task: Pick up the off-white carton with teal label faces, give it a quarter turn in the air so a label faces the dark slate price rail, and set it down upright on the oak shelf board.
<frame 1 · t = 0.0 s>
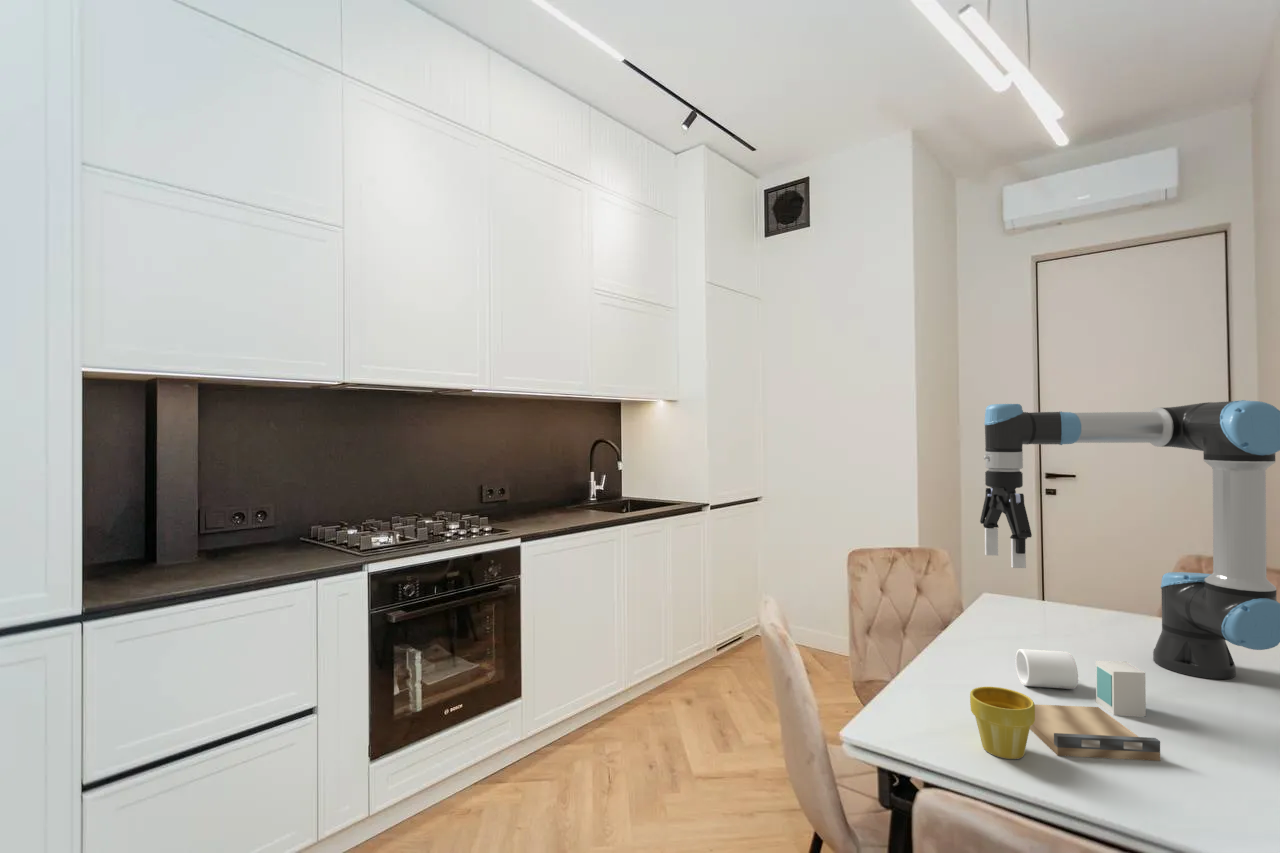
hand: (1004, 561, 145), 28 cm above the table, fingers open, 13 cm apart
shelf board: (1079, 733, 121), on the table
carton: (1120, 709, 131), on the table
mug: (1042, 683, 145), on the table
plant pot: (1002, 751, 115), on the table
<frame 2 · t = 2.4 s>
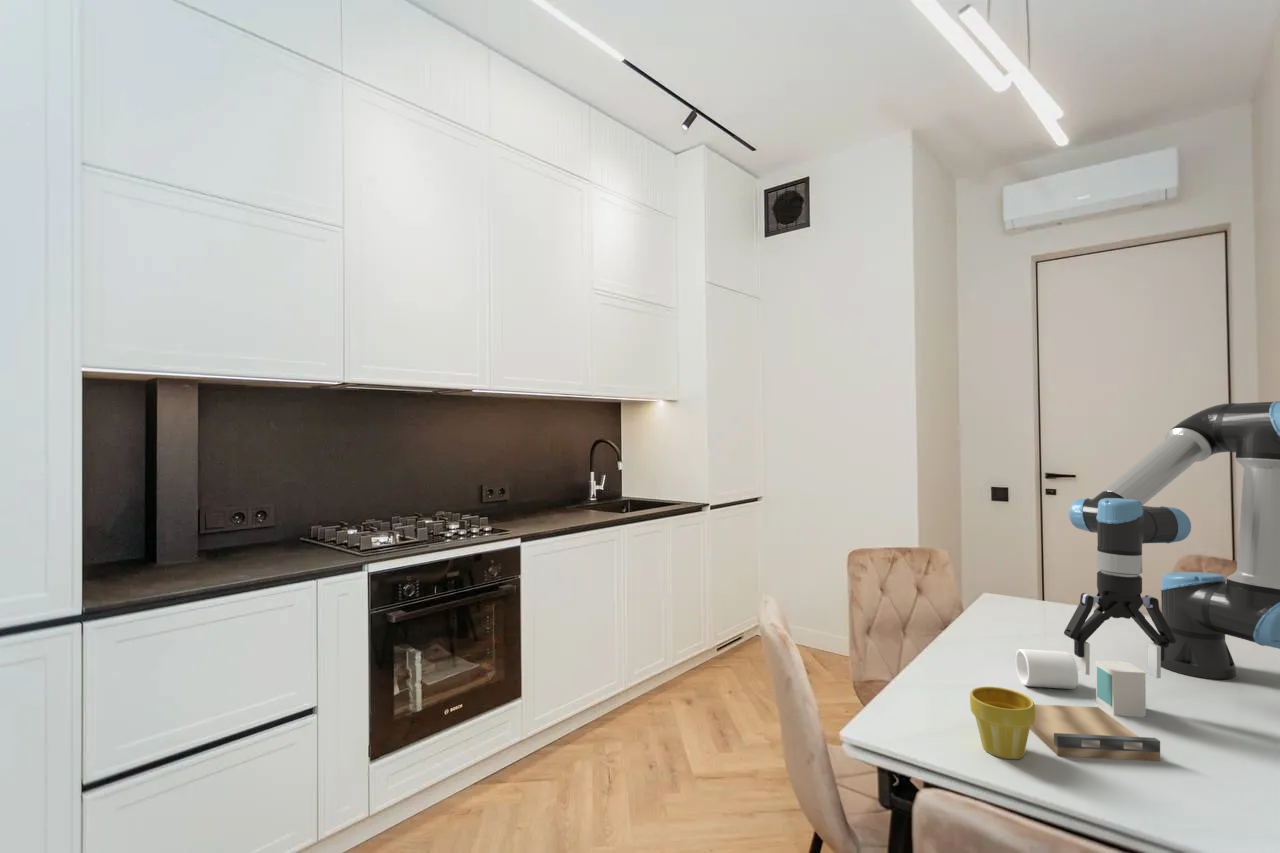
hand: (1118, 674, 131), 7 cm above the table, fingers open, 13 cm apart
nothing on the table moved.
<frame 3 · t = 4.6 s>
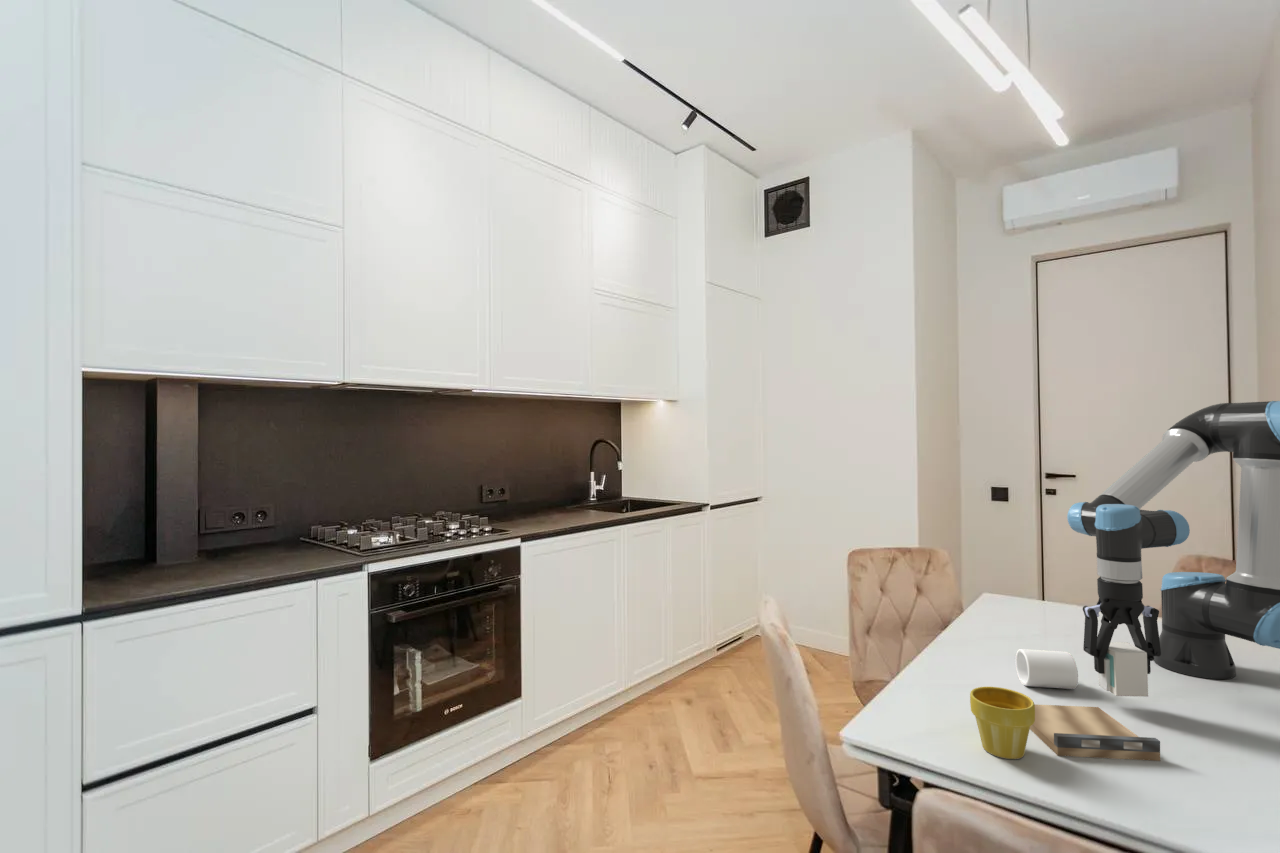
hand: (1122, 688, 131), 4 cm above the table, fingers closed on carton, 6 cm apart
carton: (1122, 690, 131), point 4 cm above the table, touching gripper
everything else where it was.
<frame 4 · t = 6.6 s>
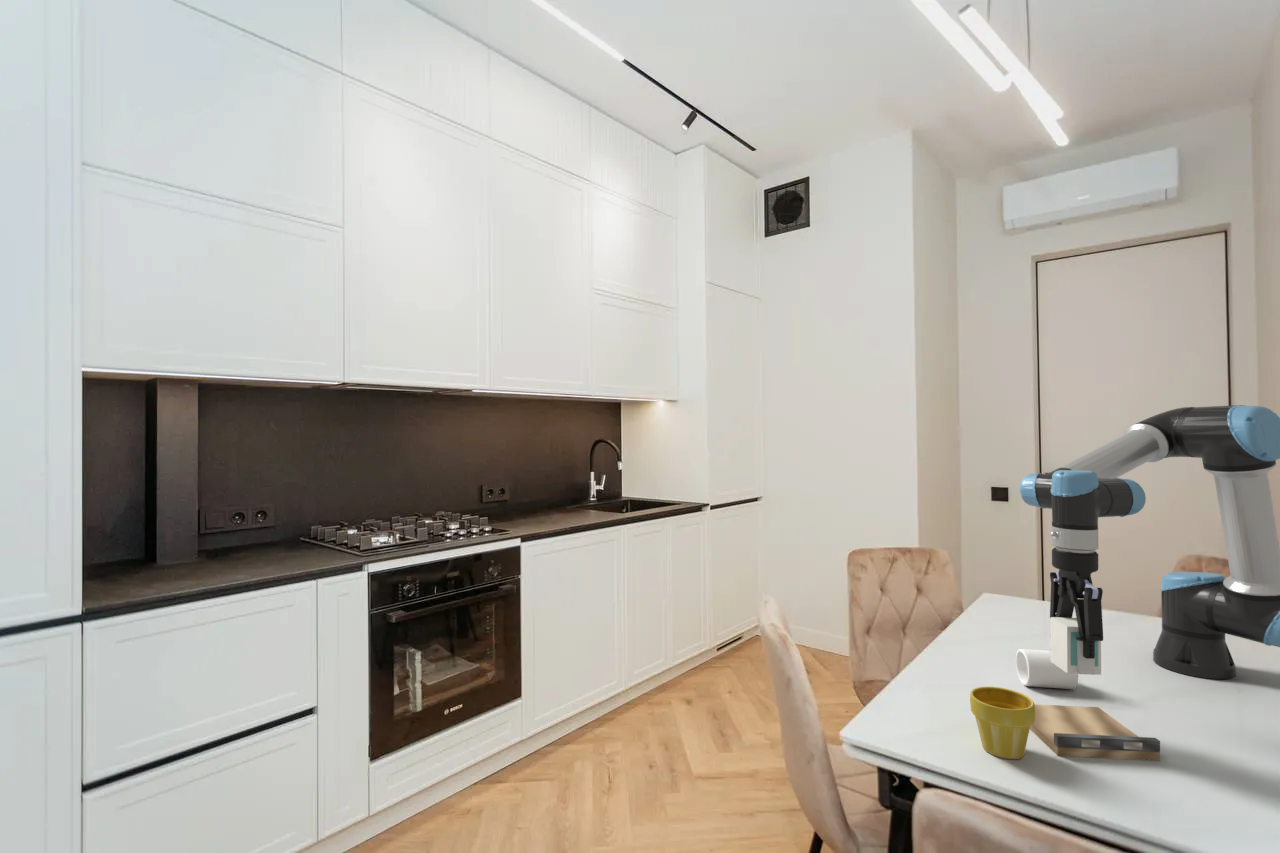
hand: (1075, 666, 122), 12 cm above the table, fingers closed on carton, 6 cm apart
carton: (1075, 668, 122), point 12 cm above the table, touching gripper
everything else where it was.
when the fingers open (2 cm above the table, at t = 8.6 s): carton stays where it is, resting on shelf board.
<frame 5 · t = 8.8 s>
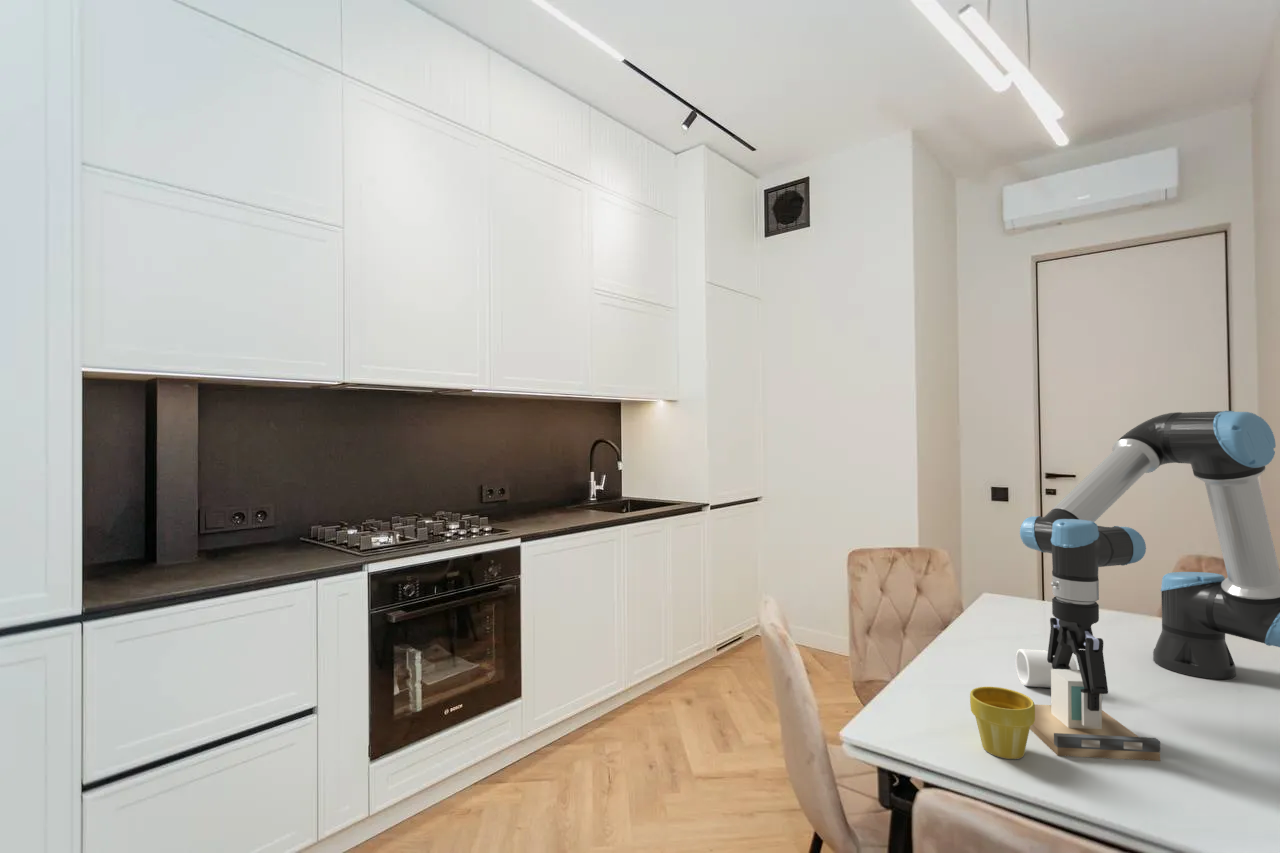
hand: (1075, 713, 122), 3 cm above the table, fingers open, 9 cm apart
carton: (1075, 721, 122), point 1 cm above the table, touching shelf board
everything else where it was.
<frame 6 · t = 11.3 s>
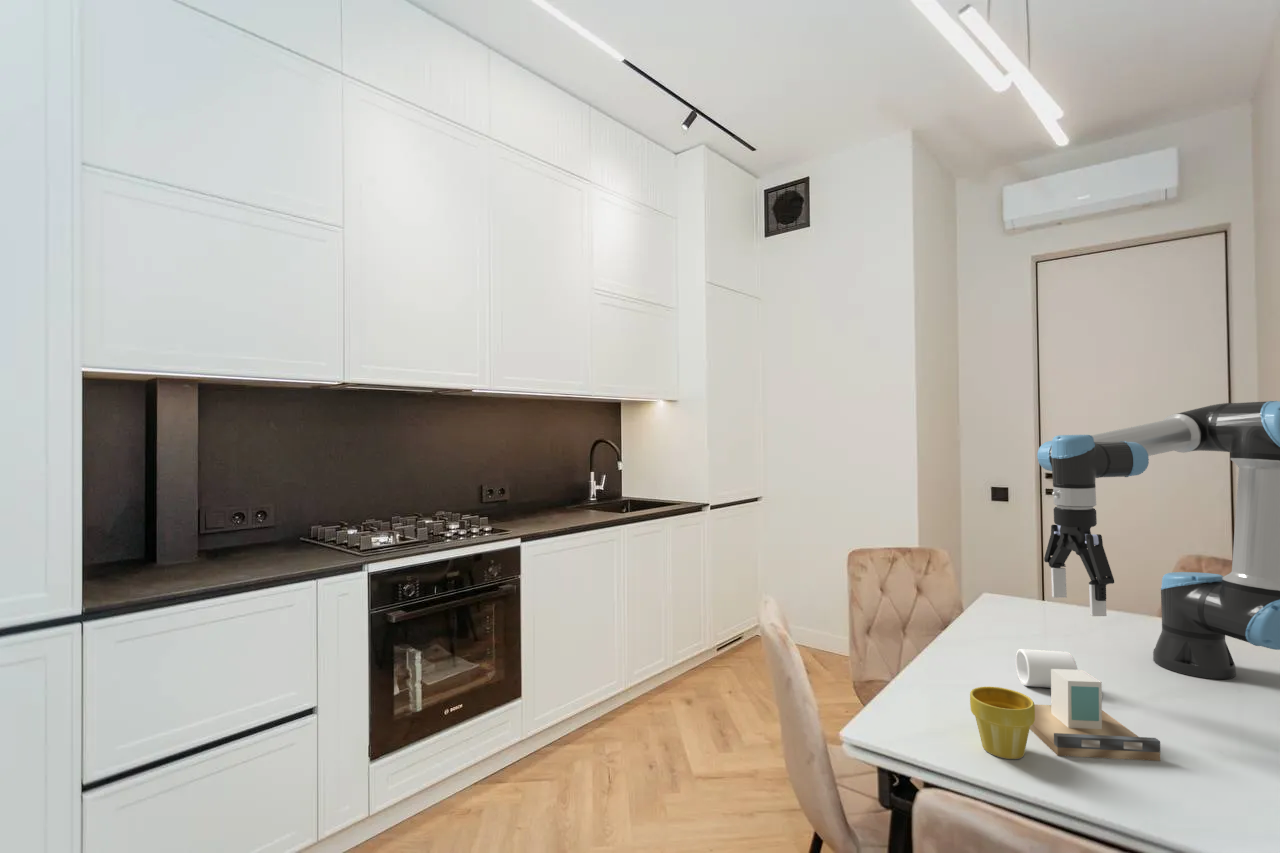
hand: (1077, 606, 134), 21 cm above the table, fingers open, 13 cm apart
nothing on the table moved.
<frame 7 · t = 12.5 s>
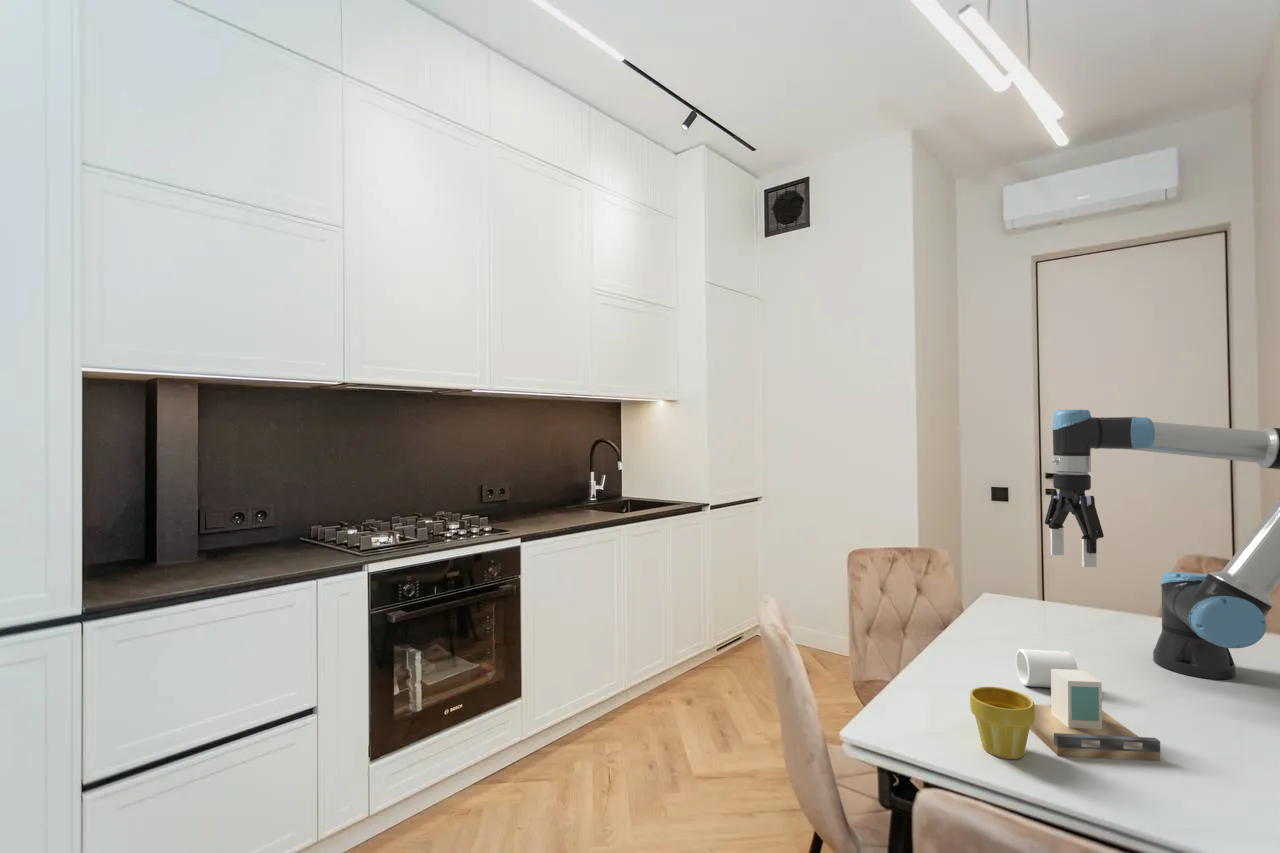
hand: (1072, 560, 151), 27 cm above the table, fingers open, 13 cm apart
nothing on the table moved.
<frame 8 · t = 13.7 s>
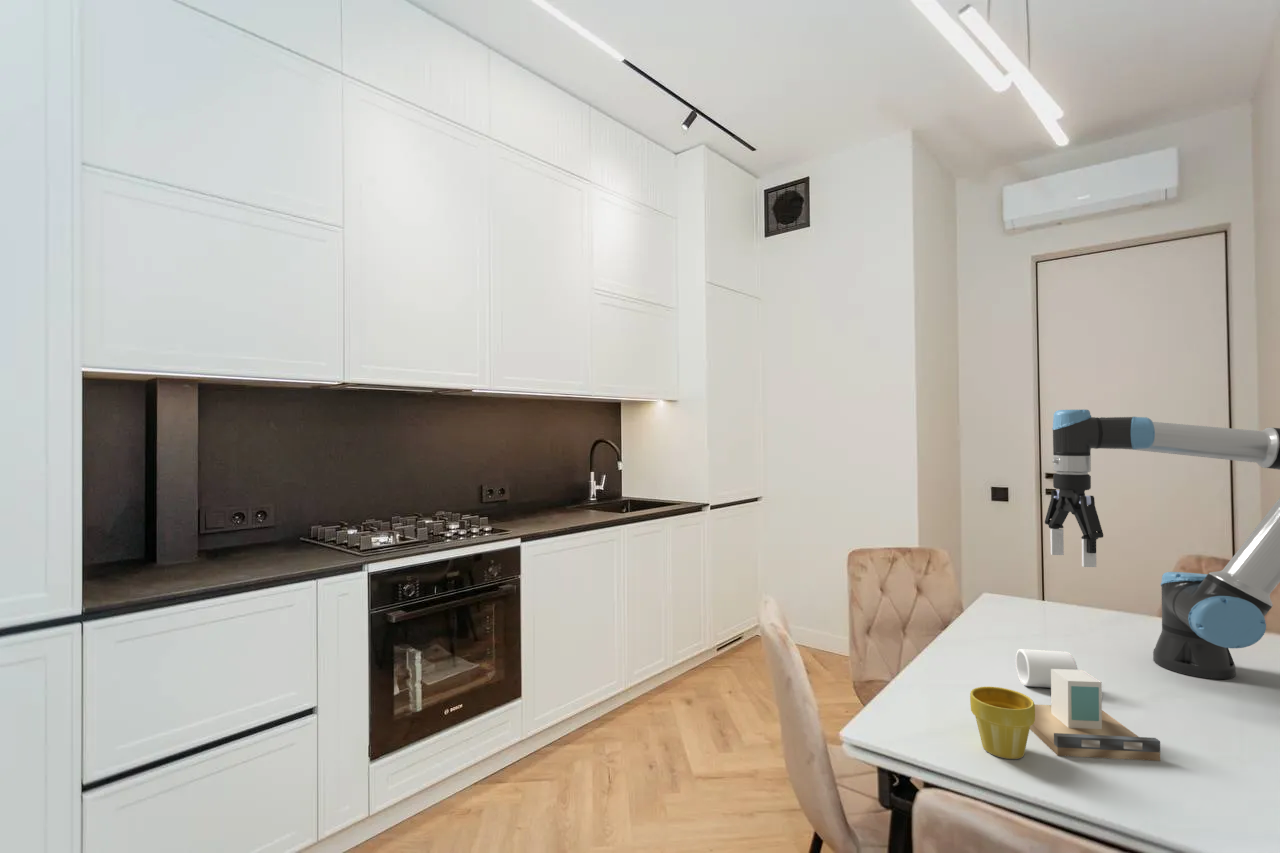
hand: (1072, 560, 151), 27 cm above the table, fingers open, 13 cm apart
nothing on the table moved.
at the end: carton inside the target area on the shelf board (1.3 cm from its centre), point 1.5 cm above the shelf board's base; carton tilted 0°; the gripper is holding nothing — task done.
